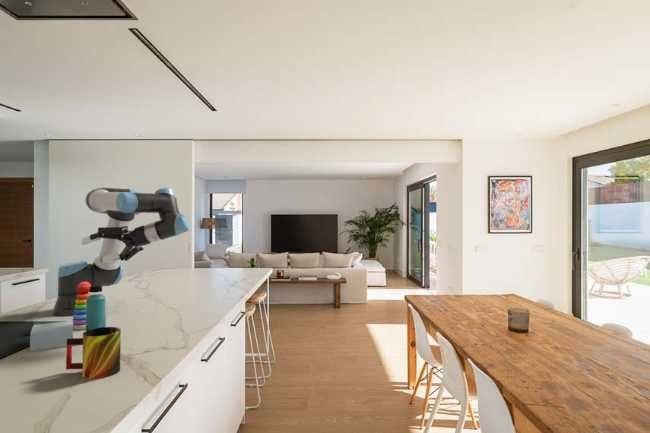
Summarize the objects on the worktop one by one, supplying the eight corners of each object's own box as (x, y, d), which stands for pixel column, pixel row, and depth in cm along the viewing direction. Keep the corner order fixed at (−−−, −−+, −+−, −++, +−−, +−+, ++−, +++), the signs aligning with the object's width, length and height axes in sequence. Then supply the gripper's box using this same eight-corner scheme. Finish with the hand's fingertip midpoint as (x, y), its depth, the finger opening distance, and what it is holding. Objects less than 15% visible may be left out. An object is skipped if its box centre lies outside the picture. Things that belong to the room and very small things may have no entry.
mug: (66, 372, 115) (66, 331, 115) (119, 364, 122) (119, 325, 122) (63, 384, 107) (64, 340, 107) (121, 375, 114) (121, 333, 114)
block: (72, 336, 149) (72, 320, 149) (72, 345, 139) (72, 328, 139) (33, 341, 143) (33, 325, 143) (30, 351, 132) (30, 333, 132)
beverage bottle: (109, 338, 147) (110, 284, 147) (94, 343, 141) (94, 287, 141) (96, 336, 149) (97, 283, 150) (80, 341, 143) (81, 286, 143)
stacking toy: (83, 331, 156) (83, 283, 156) (66, 329, 158) (66, 283, 158) (98, 325, 164) (98, 280, 164) (81, 324, 165) (82, 280, 166)
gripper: (132, 222, 141) (72, 241, 139) (162, 258, 161) (110, 274, 159) (132, 207, 146) (74, 225, 144) (161, 243, 166) (110, 259, 164)
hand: (93, 251), depth 151 cm, fingers open, 13 cm apart
